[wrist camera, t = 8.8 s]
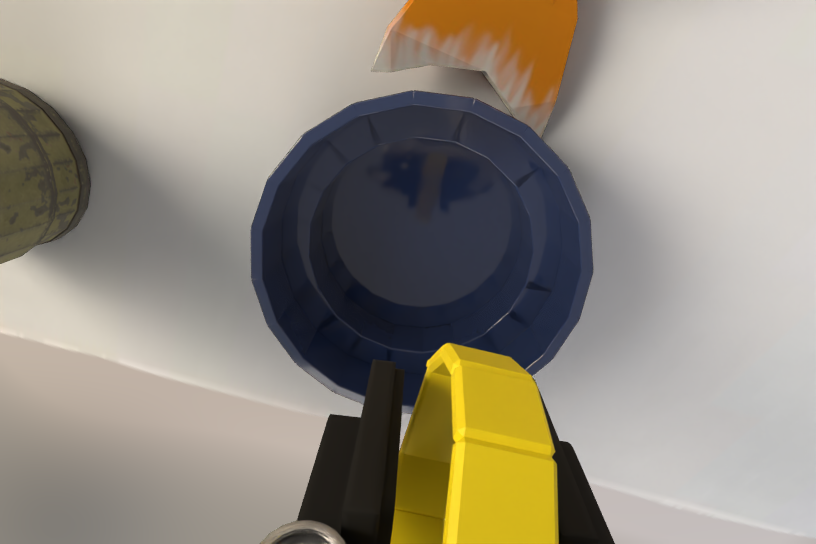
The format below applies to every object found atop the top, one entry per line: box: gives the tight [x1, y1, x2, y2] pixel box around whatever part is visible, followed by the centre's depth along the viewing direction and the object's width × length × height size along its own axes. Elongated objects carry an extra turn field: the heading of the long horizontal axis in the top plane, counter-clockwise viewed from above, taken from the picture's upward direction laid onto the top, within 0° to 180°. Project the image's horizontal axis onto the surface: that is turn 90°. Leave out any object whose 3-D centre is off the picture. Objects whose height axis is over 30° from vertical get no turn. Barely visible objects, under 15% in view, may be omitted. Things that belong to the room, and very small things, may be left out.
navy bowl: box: [251, 90, 593, 414], centre depth 21 cm, size 14×14×6 cm
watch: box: [390, 343, 559, 544], centre depth 8 cm, size 6×3×6 cm, turn 166°
